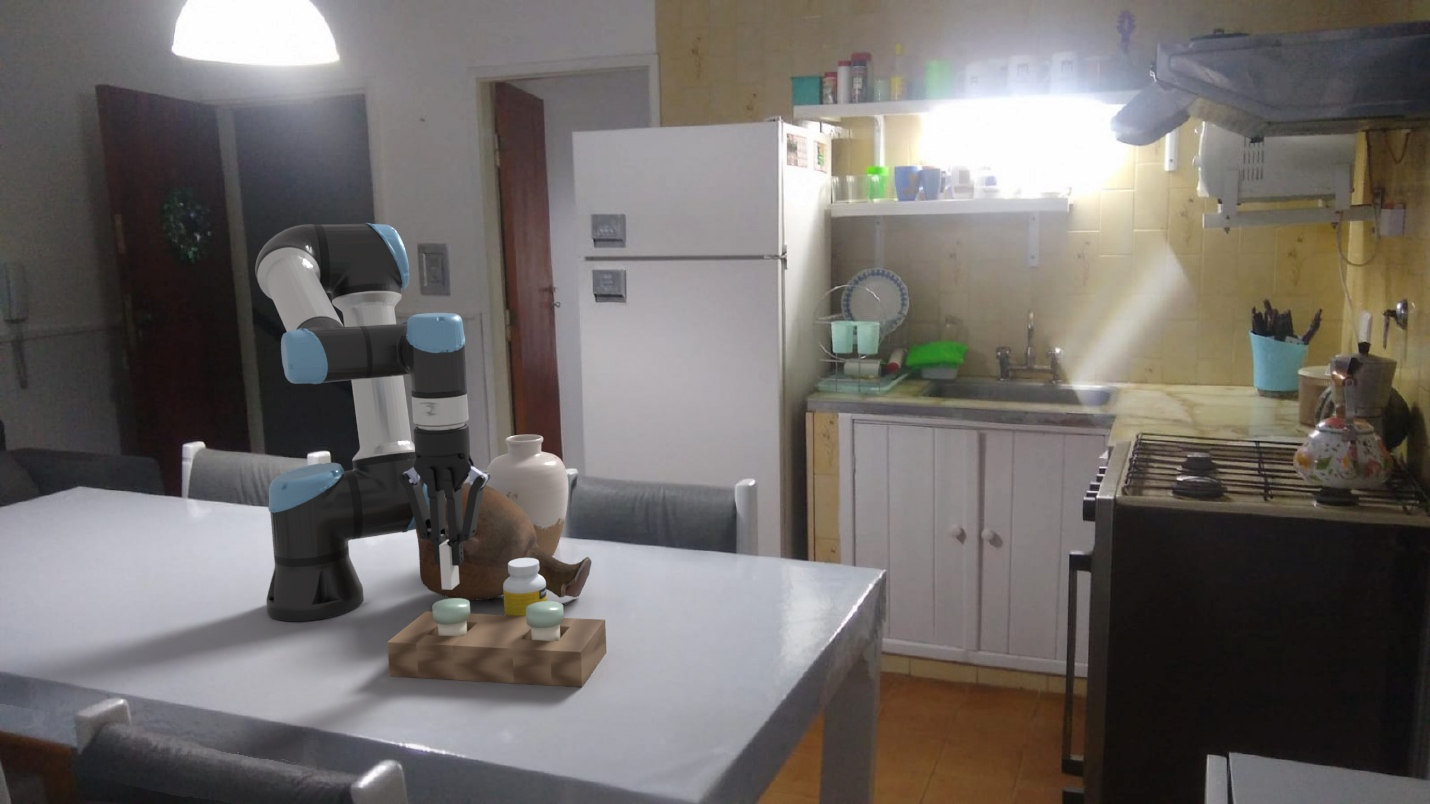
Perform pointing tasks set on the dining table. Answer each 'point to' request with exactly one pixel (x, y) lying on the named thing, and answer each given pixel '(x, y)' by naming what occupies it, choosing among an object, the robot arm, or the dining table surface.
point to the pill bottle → (523, 586)
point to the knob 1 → (451, 616)
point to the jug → (499, 553)
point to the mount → (498, 651)
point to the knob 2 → (545, 620)
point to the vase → (533, 486)
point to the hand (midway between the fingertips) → (450, 586)
